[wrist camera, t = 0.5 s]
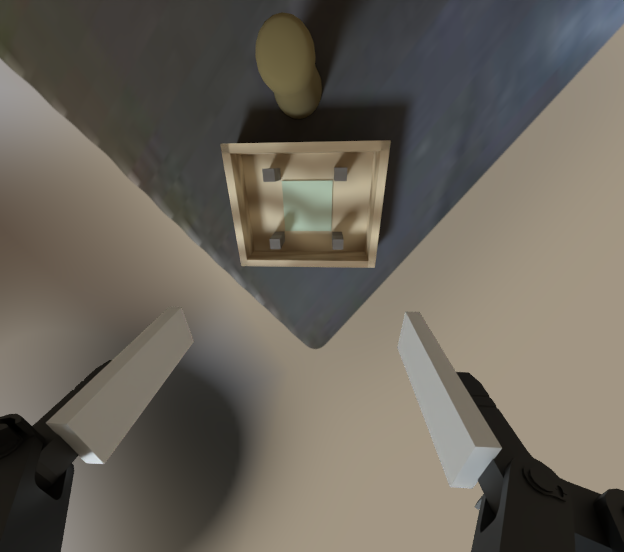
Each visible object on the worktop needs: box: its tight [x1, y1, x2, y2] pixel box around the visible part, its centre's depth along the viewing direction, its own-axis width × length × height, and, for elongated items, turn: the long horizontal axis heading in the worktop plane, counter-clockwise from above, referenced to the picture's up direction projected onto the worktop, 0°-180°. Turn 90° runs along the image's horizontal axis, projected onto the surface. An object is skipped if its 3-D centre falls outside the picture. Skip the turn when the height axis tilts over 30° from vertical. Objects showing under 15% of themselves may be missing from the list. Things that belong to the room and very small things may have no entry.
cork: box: [256, 13, 322, 119], centre depth 23 cm, size 6×6×11 cm
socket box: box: [220, 140, 391, 268], centre depth 32 cm, size 16×20×5 cm
